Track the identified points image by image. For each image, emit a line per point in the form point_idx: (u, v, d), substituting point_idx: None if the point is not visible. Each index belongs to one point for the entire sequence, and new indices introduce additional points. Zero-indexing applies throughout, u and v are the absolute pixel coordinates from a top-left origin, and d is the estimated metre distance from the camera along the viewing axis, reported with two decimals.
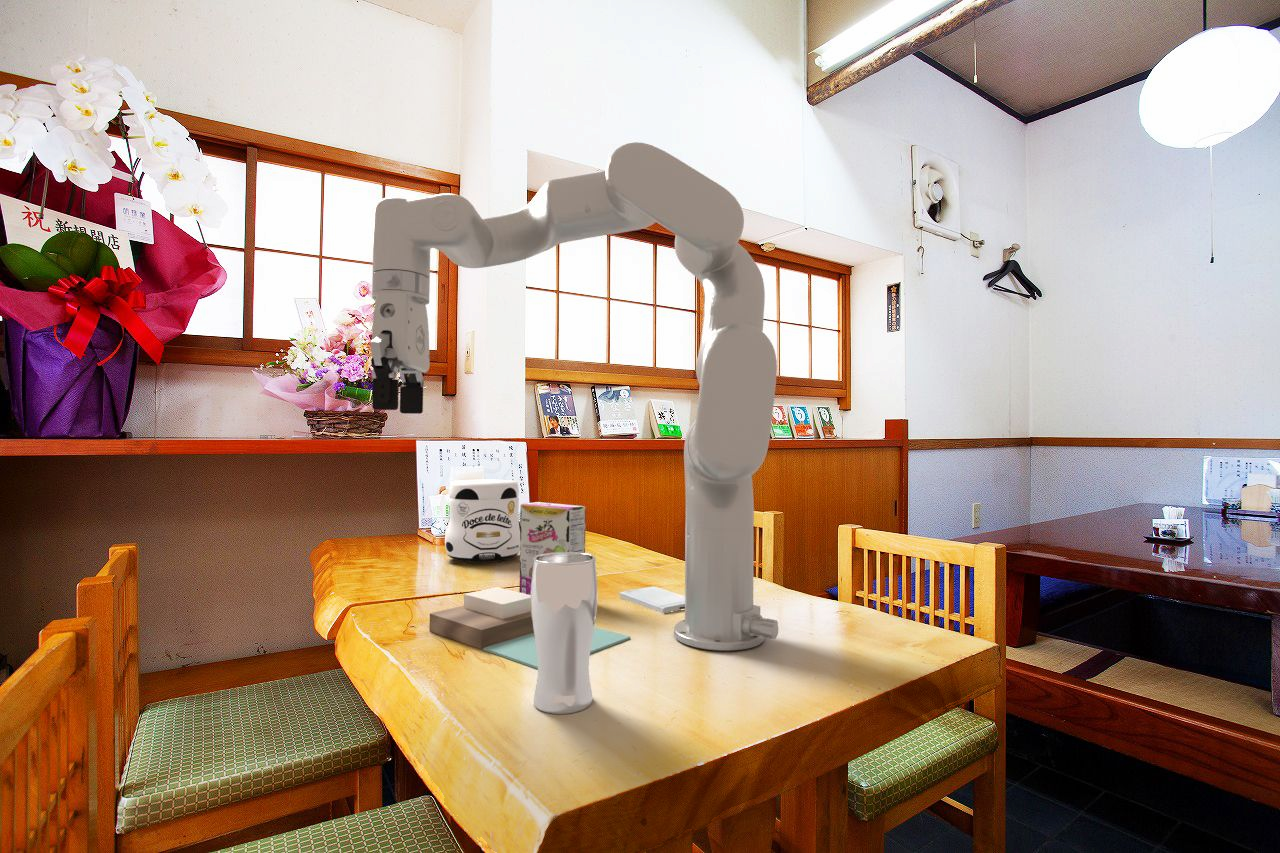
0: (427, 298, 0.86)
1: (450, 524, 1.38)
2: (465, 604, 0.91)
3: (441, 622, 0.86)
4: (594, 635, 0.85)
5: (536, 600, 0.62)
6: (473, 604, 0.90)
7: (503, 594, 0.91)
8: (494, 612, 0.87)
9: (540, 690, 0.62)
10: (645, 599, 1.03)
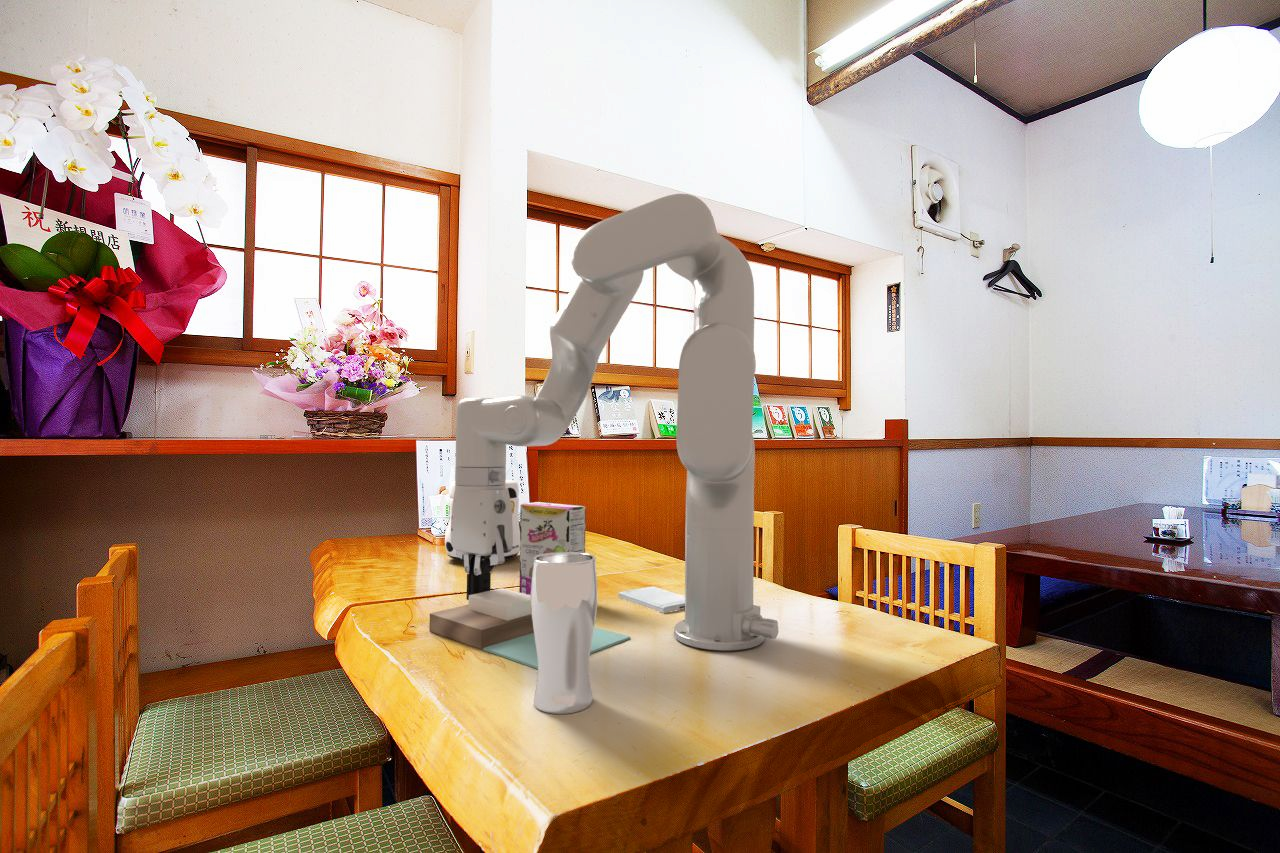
0: None
1: (450, 524, 1.38)
2: (470, 605, 0.90)
3: (441, 622, 0.86)
4: (594, 635, 0.85)
5: (536, 600, 0.62)
6: (478, 605, 0.89)
7: (508, 595, 0.90)
8: (499, 613, 0.86)
9: (540, 690, 0.62)
10: (645, 599, 1.03)
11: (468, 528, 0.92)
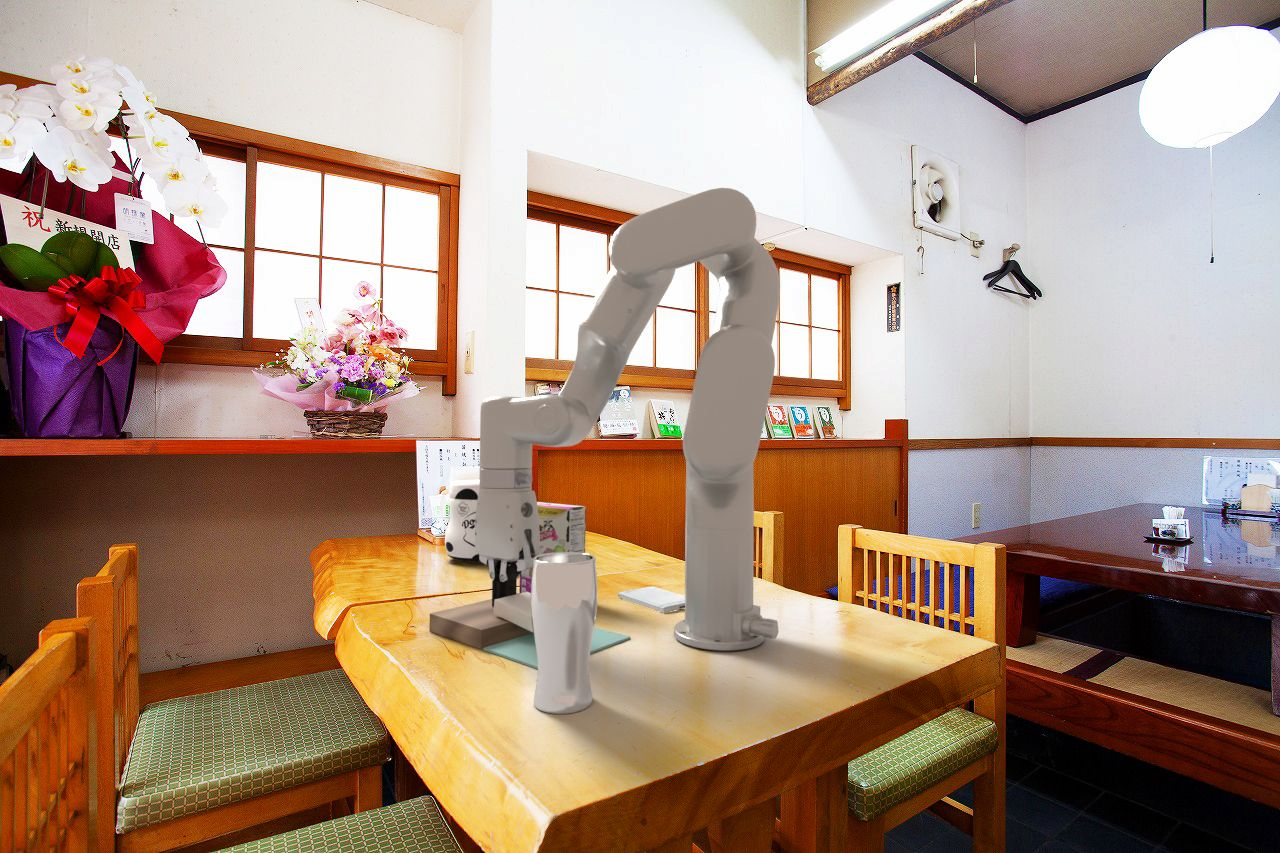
0: None
1: (450, 524, 1.38)
2: (495, 610, 0.86)
3: (441, 622, 0.86)
4: (594, 635, 0.85)
5: (536, 600, 0.62)
6: (504, 612, 0.85)
7: None
8: (527, 625, 0.82)
9: (540, 690, 0.62)
10: (644, 599, 1.03)
11: (494, 532, 0.88)
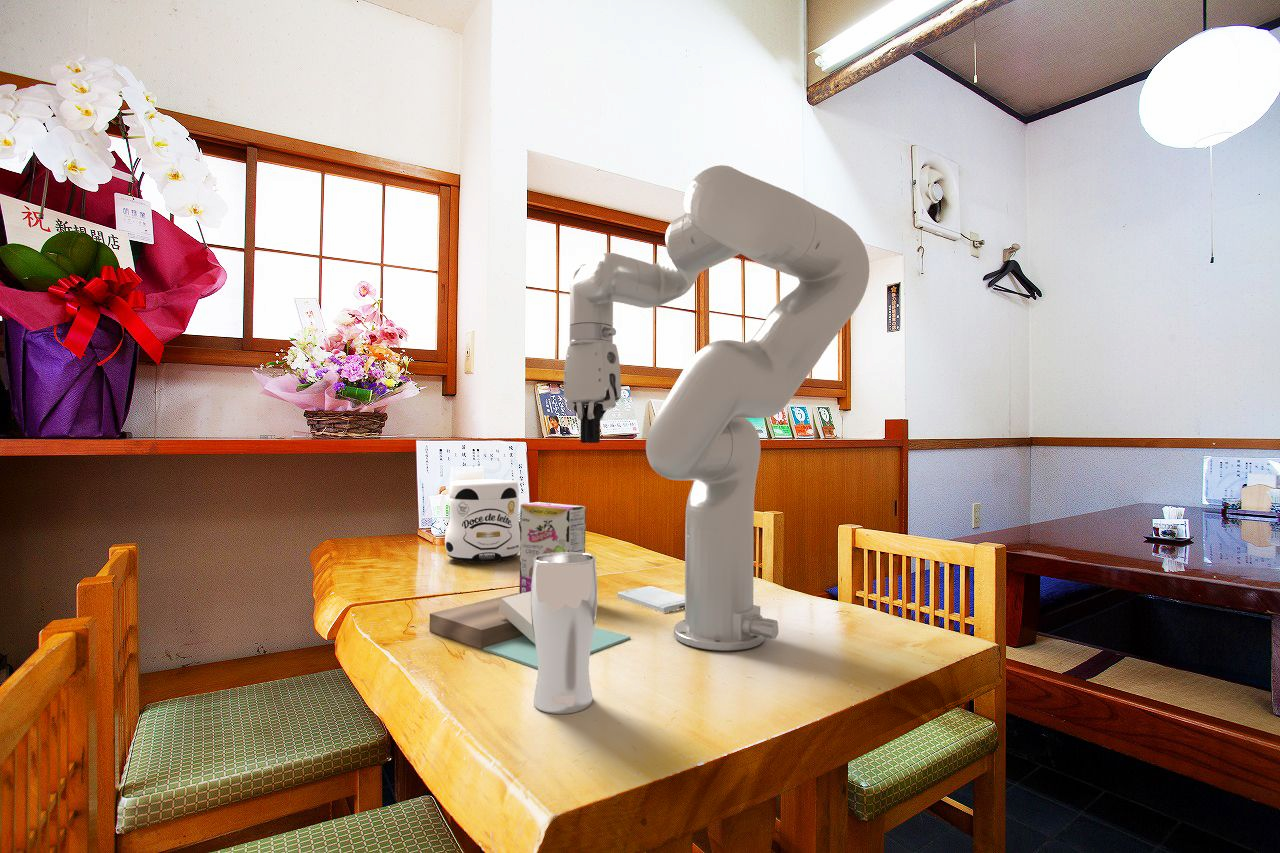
0: None
1: (450, 524, 1.38)
2: (500, 609, 0.85)
3: (441, 622, 0.86)
4: (594, 635, 0.85)
5: (536, 600, 0.62)
6: (509, 614, 0.84)
7: None
8: (531, 635, 0.81)
9: (540, 690, 0.62)
10: (644, 599, 1.03)
11: (583, 377, 1.05)
